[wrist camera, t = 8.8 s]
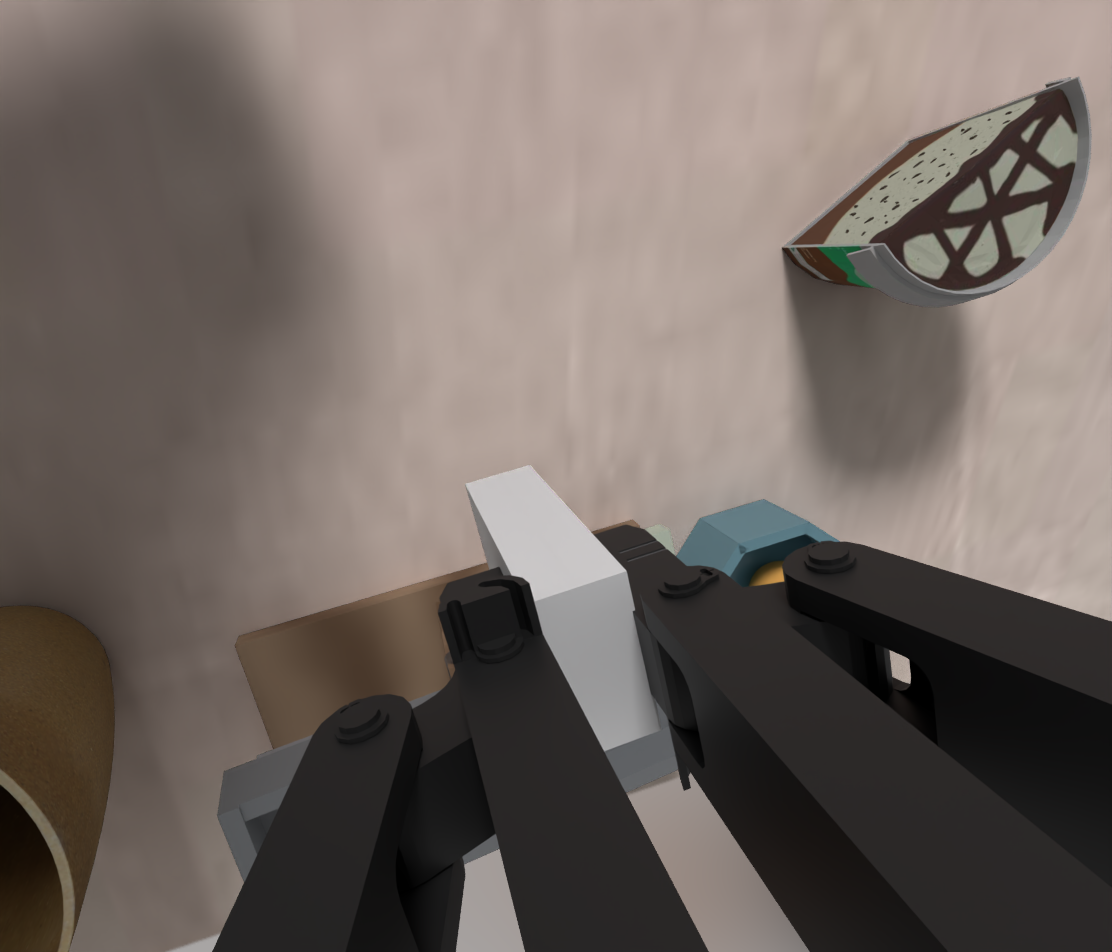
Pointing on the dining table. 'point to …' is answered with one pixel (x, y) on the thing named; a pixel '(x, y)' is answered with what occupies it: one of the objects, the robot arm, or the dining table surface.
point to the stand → (350, 656)
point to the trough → (266, 779)
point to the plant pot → (50, 773)
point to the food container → (959, 204)
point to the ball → (768, 574)
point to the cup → (748, 539)
